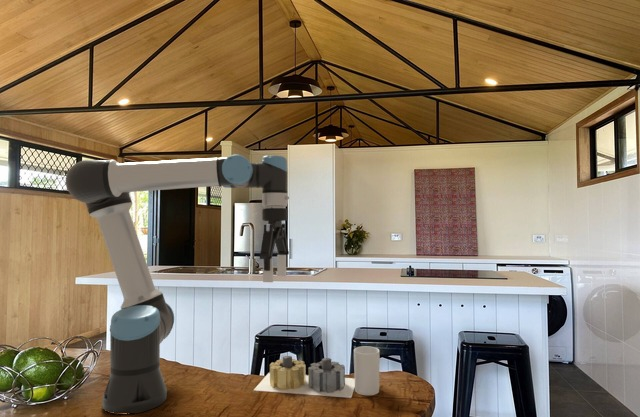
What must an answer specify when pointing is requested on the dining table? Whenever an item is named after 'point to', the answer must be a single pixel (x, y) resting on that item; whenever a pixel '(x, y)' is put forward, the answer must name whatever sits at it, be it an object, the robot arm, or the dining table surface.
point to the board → (305, 389)
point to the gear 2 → (326, 377)
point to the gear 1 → (287, 375)
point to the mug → (366, 370)
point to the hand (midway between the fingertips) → (275, 278)
